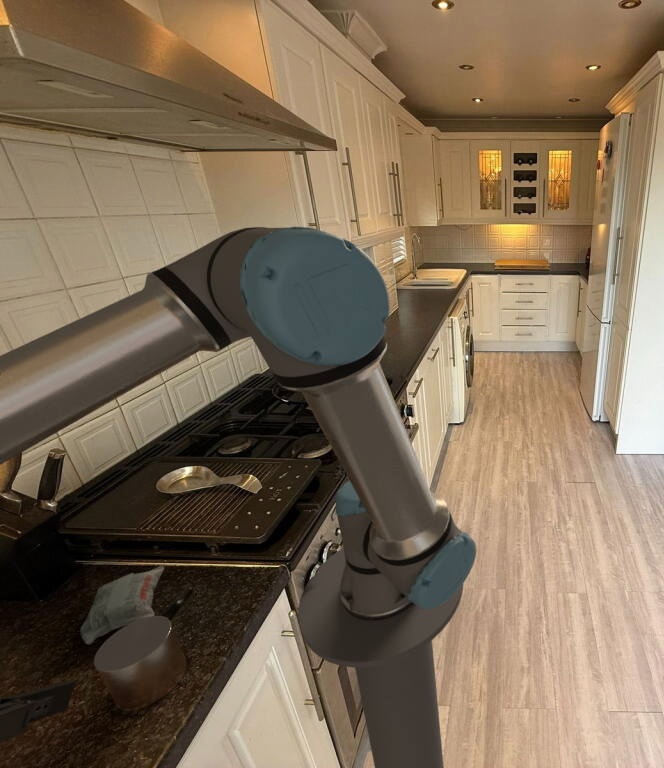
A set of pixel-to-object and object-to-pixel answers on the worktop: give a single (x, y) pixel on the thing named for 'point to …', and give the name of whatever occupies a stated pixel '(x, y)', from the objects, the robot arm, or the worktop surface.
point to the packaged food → (121, 604)
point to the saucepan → (143, 659)
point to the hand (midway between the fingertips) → (64, 695)
